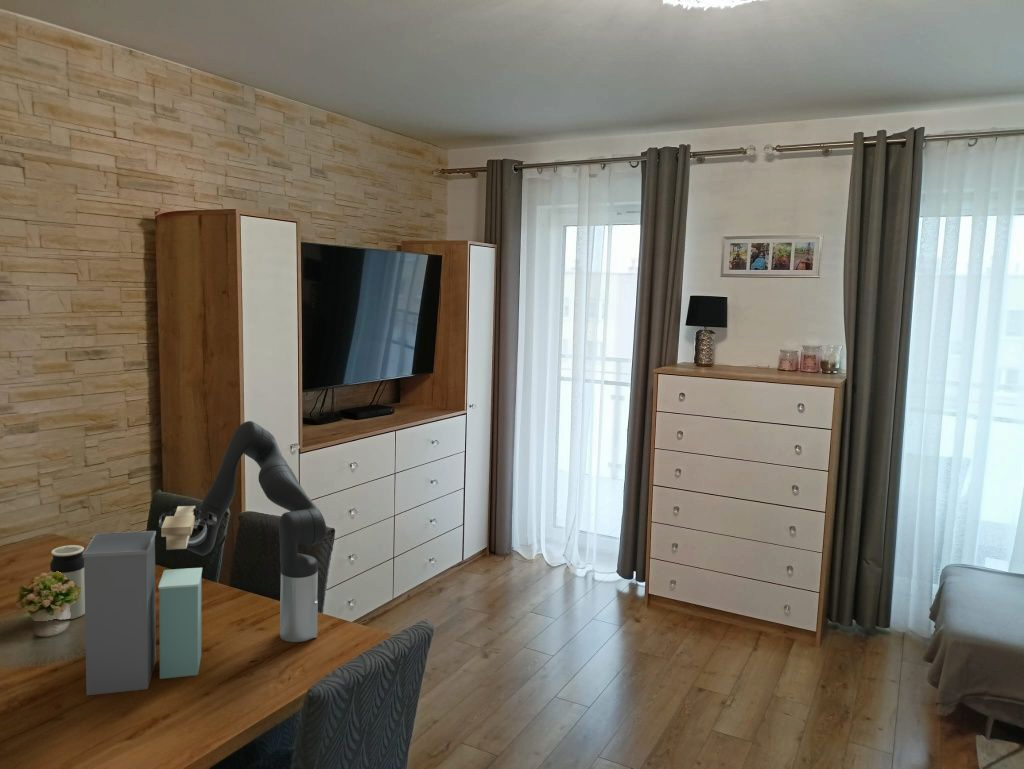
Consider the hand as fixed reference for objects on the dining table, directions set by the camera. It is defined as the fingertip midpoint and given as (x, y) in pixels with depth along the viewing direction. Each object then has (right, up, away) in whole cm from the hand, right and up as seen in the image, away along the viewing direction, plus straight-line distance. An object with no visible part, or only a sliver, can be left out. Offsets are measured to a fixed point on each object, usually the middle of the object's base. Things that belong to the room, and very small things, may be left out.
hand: (184, 512), depth 180 cm
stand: (-10, -36, -10) cm, 38 cm away
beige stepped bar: (+2, -4, -5) cm, 7 cm away
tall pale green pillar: (+1, -36, -4) cm, 36 cm away
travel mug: (-39, -31, +19) cm, 54 cm away
